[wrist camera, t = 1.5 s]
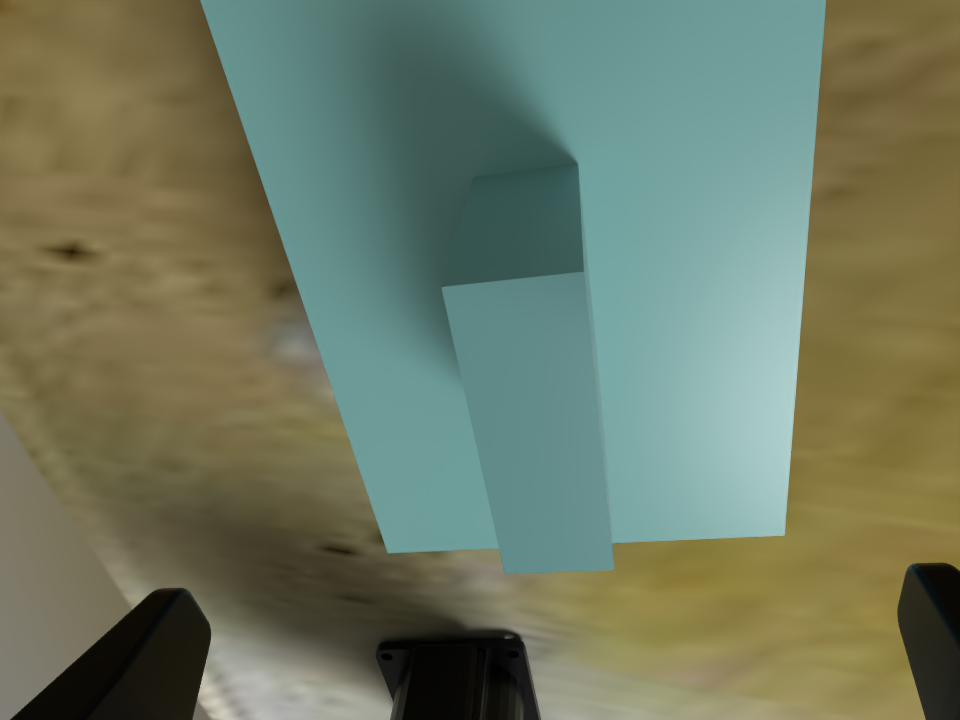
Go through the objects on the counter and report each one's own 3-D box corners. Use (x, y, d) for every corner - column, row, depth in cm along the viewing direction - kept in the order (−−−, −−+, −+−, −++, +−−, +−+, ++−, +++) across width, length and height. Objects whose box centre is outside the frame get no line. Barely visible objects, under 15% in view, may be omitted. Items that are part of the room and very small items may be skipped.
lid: (763, 473, 20) (840, 703, 15) (402, 494, 22) (348, 707, 16) (796, -149, 13) (984, -168, 7) (240, -40, 14) (33, 15, 9)
